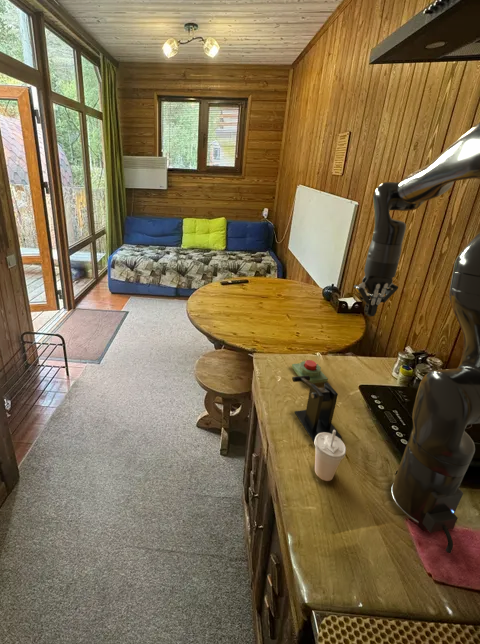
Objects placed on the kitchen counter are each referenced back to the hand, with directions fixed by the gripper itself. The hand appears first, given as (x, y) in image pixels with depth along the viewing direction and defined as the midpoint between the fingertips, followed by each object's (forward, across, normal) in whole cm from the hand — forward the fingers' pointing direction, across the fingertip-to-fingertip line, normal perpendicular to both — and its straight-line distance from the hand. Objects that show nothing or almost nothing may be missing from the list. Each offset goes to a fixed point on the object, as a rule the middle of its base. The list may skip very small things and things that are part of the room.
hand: (369, 315), depth 89 cm
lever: (+18, -20, -7) cm, 28 cm away
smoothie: (+27, -26, -25) cm, 45 cm away
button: (+23, -10, +8) cm, 26 cm away
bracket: (+27, -20, -12) cm, 35 cm away
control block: (+26, -10, +8) cm, 30 cm away
